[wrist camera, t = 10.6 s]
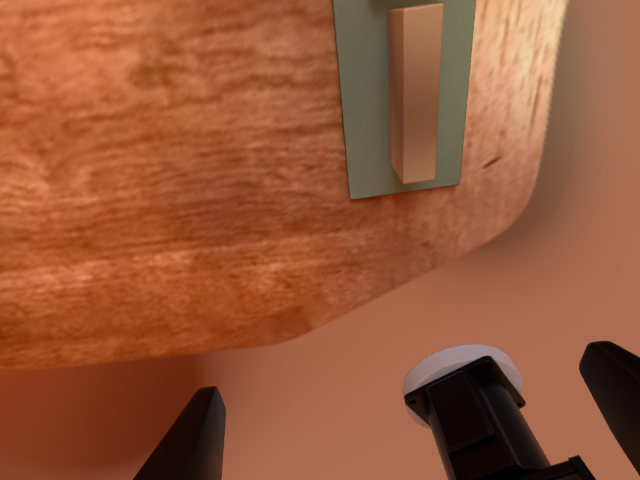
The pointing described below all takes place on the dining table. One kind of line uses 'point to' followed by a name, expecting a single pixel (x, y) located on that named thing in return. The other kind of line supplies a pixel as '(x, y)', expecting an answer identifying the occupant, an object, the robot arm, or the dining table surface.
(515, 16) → the dining table surface
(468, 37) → the mat
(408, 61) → the beige slabs
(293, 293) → the dining table surface
